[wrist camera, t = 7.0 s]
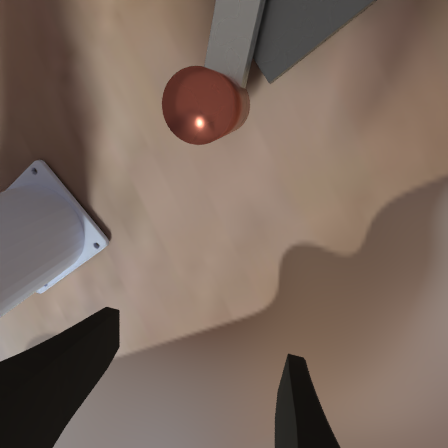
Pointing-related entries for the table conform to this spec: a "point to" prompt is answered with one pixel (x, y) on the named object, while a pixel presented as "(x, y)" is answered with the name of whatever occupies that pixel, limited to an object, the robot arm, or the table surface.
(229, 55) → the lever
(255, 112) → the table surface
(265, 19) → the base
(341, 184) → the table surface
